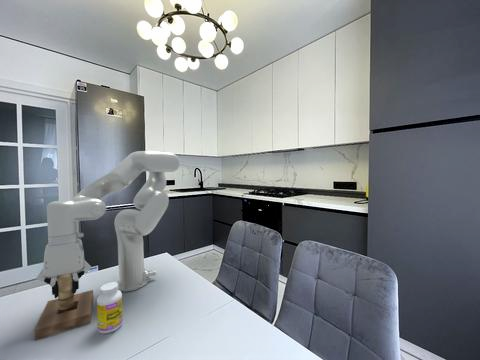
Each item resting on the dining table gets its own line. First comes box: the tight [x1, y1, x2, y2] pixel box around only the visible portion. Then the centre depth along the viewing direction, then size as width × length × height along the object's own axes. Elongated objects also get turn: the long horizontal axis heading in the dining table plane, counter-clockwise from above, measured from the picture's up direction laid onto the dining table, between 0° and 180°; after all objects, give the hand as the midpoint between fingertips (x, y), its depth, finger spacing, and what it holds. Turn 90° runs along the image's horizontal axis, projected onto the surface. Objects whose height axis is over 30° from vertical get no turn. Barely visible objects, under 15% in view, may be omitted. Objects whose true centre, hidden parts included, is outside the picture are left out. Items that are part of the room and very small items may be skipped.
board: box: [33, 289, 95, 341], centre depth 71 cm, size 13×16×3 cm
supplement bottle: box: [96, 281, 124, 334], centre depth 66 cm, size 7×7×13 cm
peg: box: [57, 273, 75, 310], centre depth 71 cm, size 4×4×12 cm
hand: (66, 293), depth 71 cm, fingers closed on peg, 4 cm apart
